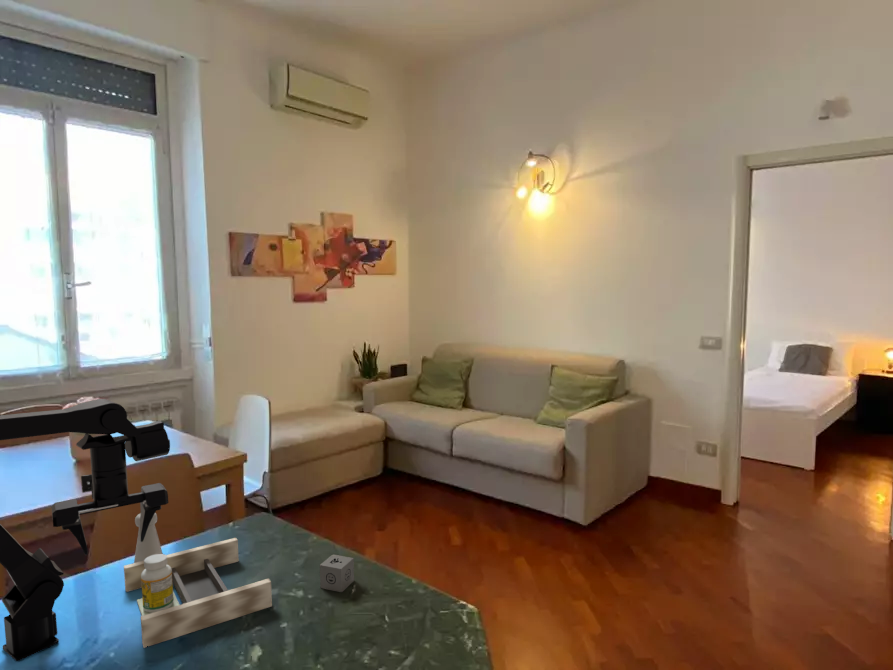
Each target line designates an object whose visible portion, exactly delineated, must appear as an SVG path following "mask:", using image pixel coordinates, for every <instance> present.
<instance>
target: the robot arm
mask: <svg viewBox="0 0 893 670" xmlns="http://www.w3.org/2000/svg"><path fill="white" fill-rule="evenodd" d="M65 433H79V434H84V435H83V436H82V438H80V440H78V441H77V442H76V444H75V445H76V447H78V448H79V449H81V450H83V451H84V450H85V451H86V450H89V454H90V468H91V469H90V470H91V471H90V472H91V473H90V474H86V475H85V474H84V475H80V482H81V483H80V486H81V493H82V494H83V493H88V492H91V498H92V499H93V501H88V502H83V503H79V504H78V501H77V498H74V499H69V500H63V501H61V500H60V501H58V502H54V503H53V504H52V506H51V517H52V518H51V519H52V527H54V528H57V527H61V529H62V530H64V531H66V530H68V531H70V532H71V533H72V535H73V536H74V537H75V539H76V540H77V542H78V544H79V546H80V548H81V550H82V551H83V554H84V555H85V556H87V555H89V553H88V545H87V540H86V537H85V531H84V529H83V524H82V520H81V515H86V514H91V513H97V512H101V511H106V510H111V509H116V508H120V507H125V506H130V505H135V504H140V505H139V507H140V513H141V514H140V513H139V514H140V531H139V530H138V531H139V534H140V541H141V542H143V540H144V537H145V535H146V532H147V529H148V526H149V524H150V521H151V520H152V518H153V516H154V514H155V513H156V512H157V511H160V510H161V509H162V506H165V505H167V504H169V493H168V490H167V489H166V487H165V486H164V484H162V483H161V482H158V483H152V484H148V485H147V484H146V485H142V486H141V489H140V491H139V492H136V493H134V492H133V493H129V485H128V483H129V482H128V469H127V457H128V458H132V459H133V460H134V462H140V461H145V460H151V459H154V458H160V457H163V456H167V455H169V453H170V452H171V451H170V450H171V440H170V439H169V436H168V432H167V431H166V428H165V424H164V422H162V421H160V420H158V421H153V422H151V423H146V424H141V425H135V424H133V423H132V422H131V421H130V420H129V419H128V413H127V410H126V409H125V407H123V406H122V405H121V404H119V403H117V402H114V401H112V400H109V399H107V398H98V399H93V400H89V401H85V402H82V403H81V402H80V403H78V404H76V405H73V406H71V407H66V408H63V409H62V408H61V409H53V410H43V411H31V412H21V413H11V414H2V415H0V441H7V440H14V439H16V440H17V439H22V438H23V439H24V438H33V437H39V436H48V435H49V436H50V435H56V434H65ZM116 433H117V434H121V435H120V436H113V435H114V434H116ZM93 435H95V436H93ZM0 565H1V566H3V568H5V569H6V572H7V574H8V575H9V577H10V579H11V580H12V582H13V586H12V587H11V588H10V589H9V590H7V592H6V594H5V595H4V596H3V597H2V598H1V602H2V604H3V605H4V607H5V609H6V610H7V612H8V614H9V615H6V616H4V617H3V623H4V634H5V635H4V636H5V644H3V645H2V650H3V651H4V652H5V653H6V654H8V655H9V656H10V657H11V658H12V659H13V660H14V661H15V662H19V661H22V660H25V659H26V658H28V657H30V656H33V655H35V654H37V653H39V652H41V651H44V650H45V649H48V648H50V647H53V646H55V645H57V644H58V643H60V639H59V638H57V637H56V636H57V635H58V626H57V625H58V624H57V614H56V612H54V611H53V608H54V606H55V605H54V604H55V601H56V600H57V599H58V598H59V597H60V596H61V594H62V592H63V589H64V586H65V583H64V582H65V581H64V580H63V579H62V576H63V575H64V572H63V571H62V569H61V568H60V567H59V566H58V564H56V562H55V561H54V560H51V558H50V557H49V556H48V555H47V553H46V552H45V551H44V550H43V549H42V548H41V547H39V548H37V550H36V551H34V553H32V552H30V551H29V550H27V549H26V548H25V547H23V546H22V545H21V544H20V543H19V541H17V539H16V538H15V537H14V536H13V535H12V534H11V533H10V532H9V531H8V530H7V529H6V528H5V527H4V526H3V525H2V524H1V523H0Z"/></svg>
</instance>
